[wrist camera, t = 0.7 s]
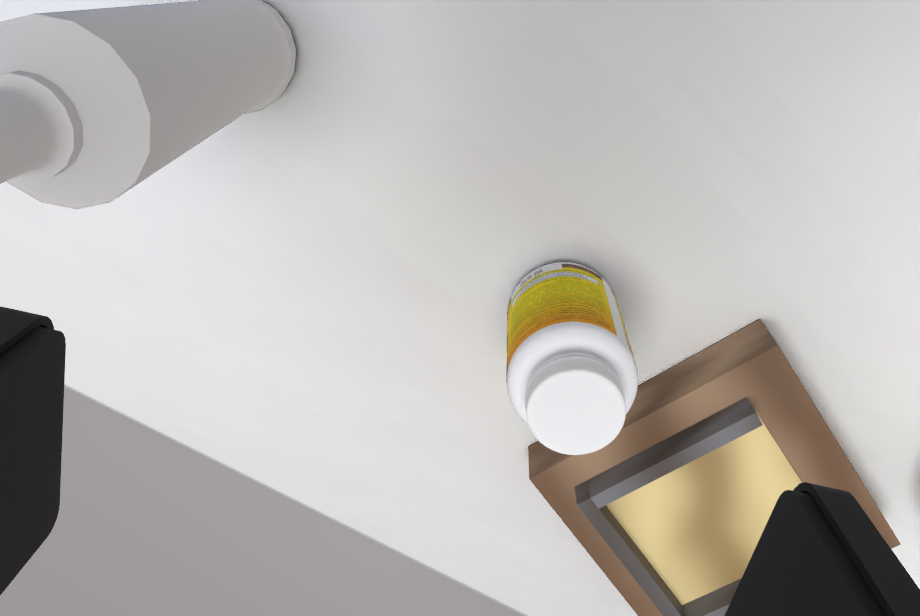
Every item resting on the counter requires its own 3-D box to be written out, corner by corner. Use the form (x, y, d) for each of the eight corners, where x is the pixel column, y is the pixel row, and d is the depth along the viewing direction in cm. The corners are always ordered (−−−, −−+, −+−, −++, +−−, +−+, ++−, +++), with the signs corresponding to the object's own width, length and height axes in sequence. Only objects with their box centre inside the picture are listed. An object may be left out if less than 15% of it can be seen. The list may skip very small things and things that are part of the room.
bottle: (306, 107, 37) (-20, 344, 14) (198, 108, 38) (-287, 340, 15) (295, -11, 35) (-106, 46, 12) (181, -10, 36) (-415, 50, 13)
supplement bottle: (485, 295, 41) (478, 396, 31) (579, 237, 39) (599, 325, 30) (545, 375, 42) (554, 494, 33) (636, 323, 41) (673, 431, 31)
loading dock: (759, 318, 40) (787, 360, 36) (876, 508, 44) (913, 564, 40) (528, 446, 44) (530, 496, 40) (655, 609, 48) (668, 669, 44)
